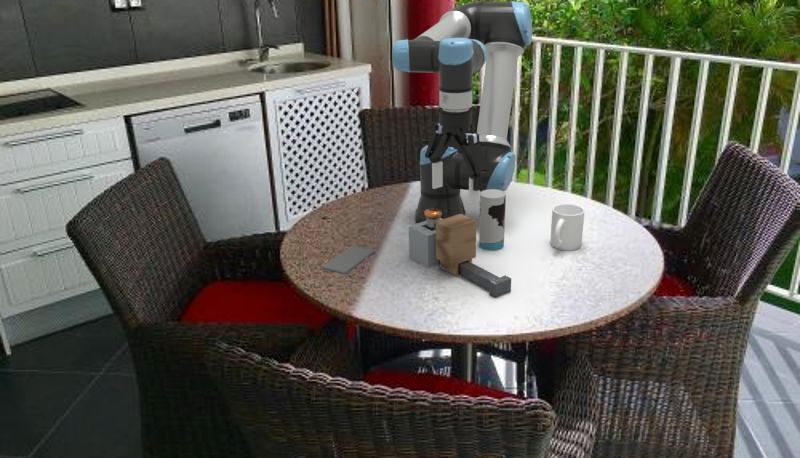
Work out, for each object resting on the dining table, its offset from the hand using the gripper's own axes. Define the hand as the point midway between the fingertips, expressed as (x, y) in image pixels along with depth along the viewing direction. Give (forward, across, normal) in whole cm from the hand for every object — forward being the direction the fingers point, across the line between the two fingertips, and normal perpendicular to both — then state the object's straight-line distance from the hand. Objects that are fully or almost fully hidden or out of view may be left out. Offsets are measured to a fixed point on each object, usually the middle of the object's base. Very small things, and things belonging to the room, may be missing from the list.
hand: (455, 194), depth 165 cm
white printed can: (+20, -4, +17) cm, 27 cm away
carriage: (+20, +1, 0) cm, 20 cm away
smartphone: (+20, -21, -18) cm, 35 cm away
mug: (+20, +9, +31) cm, 38 cm away
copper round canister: (+14, -8, 0) cm, 16 cm away
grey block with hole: (+20, -8, 0) cm, 22 cm away
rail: (+20, +7, 0) cm, 21 cm away
